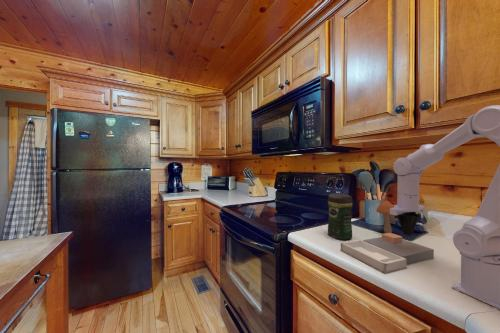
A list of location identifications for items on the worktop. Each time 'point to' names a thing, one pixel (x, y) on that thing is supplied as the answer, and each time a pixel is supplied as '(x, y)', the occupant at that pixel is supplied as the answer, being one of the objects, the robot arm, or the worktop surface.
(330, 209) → the coffee jar
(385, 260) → the cream tile
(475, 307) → the worktop surface
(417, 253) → the slate board
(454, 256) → the worktop surface
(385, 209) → the mushroom
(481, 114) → the robot arm
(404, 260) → the grey bin
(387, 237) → the terracotta tile
